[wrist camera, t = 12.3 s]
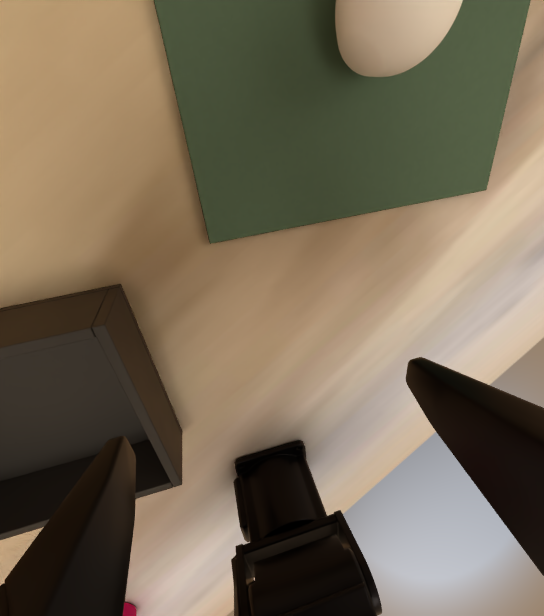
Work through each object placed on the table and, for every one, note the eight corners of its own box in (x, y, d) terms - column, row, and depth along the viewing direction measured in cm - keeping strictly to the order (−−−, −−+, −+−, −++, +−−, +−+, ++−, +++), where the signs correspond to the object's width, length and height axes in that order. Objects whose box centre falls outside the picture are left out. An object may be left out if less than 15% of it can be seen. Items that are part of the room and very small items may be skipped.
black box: (120, 283, 18) (104, 324, 14) (182, 431, 25) (182, 485, 21) (-196, 348, 16) (-314, 417, 12) (-31, 491, 22) (-73, 563, 19)
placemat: (600, -340, 11) (613, -355, 11) (481, 189, 20) (486, 190, 20) (62, -396, 8) (57, -417, 8) (209, 241, 18) (210, 244, 18)
